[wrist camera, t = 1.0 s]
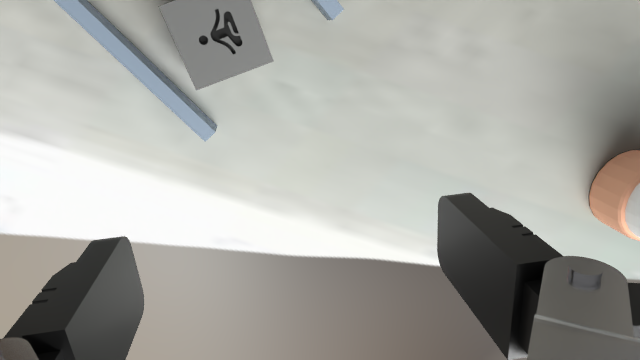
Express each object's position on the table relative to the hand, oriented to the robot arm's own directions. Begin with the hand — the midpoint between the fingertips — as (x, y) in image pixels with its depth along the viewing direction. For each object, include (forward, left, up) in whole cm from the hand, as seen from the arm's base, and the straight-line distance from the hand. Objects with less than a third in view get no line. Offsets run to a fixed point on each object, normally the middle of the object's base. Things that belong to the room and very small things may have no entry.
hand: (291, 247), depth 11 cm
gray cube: (-1, -5, -23) cm, 23 cm away
